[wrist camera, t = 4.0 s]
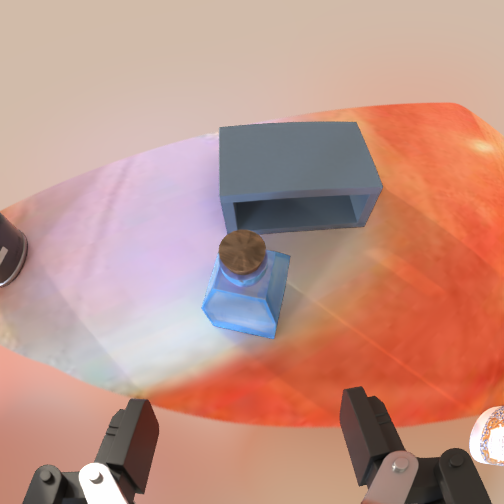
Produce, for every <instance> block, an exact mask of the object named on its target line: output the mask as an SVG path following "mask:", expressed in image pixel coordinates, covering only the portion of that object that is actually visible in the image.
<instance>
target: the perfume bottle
mask: <svg viewBox="0 0 504 504" xmlns="http://www.w3.org/2000/svg"><path fill="white" fill-rule="evenodd" d="M289 261H290V256H289V255H285V254H282V253H279V252H275V251H269V250H266V247H265V243H264V241H263V239H262V238H261V237H260V236H259V235H258V234H256V233H255V232H253V231H250V230H236V231H233V232H231V233H229V234H228V235H226V236H225V238H224V239H223V240H222V241H221V243H220V245H219V252H218V256H217V259H216V262H215V265H214V269H213V272H212V275H211V278H210V282H209V285H208V288H207V292H206V295H205V298H204V302H203V305H202V310H203V311H204V313H205V314H206V315H207V317H208V318H209V320H210V321H211V323H212V324H213V326H217V327H221V328H226V329H230V330H234V331H239V332H243V333H248V334H252V335H257V336H262V337H266V338H271V339H274V337H275V332H276V328H277V323H278V319H279V314H280V309H281V305H282V300H283V295H284V290H285V285H286V280H287V274H288V268H289Z"/></svg>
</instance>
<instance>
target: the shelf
mask: <svg viewBox="0 0 504 504" xmlns="http://www.w3.org/2000/svg"><path fill="white" fill-rule="evenodd" d="M382 188H383V185H382V183H381V180H380V178H379V175H378V172H377V170H376V167H375V165H374V162H373V160H372V157H371V155H370V152H369V150H368V148H367V145H366V143H365V141H364V138H363V136H362V134H361V132H360V129H359V127H358V125H357V123H356V122H287V123H267V124H252V125H239V126H228V127H220V128H219V197H220V202H221V206H222V211H223V216H224V220H225V225H226V229H227V234H229V233H231V232H233V231H236V230H250V231H253V232H255V233H256V234H268V233H281V232H294V231H308V230H322V229H336V228H351V227H364V226H365V224H366V222H367V220H368V218H369V216H370V214H371V212H372V209H373V207H374V205H375V203H376V201H377V199H378V197H379V195H380V193H381V190H382Z"/></svg>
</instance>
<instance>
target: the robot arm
mask: <svg viewBox="0 0 504 504" xmlns="http://www.w3.org/2000/svg"><path fill="white" fill-rule="evenodd" d="M26 253H27V240H26V237H25V235H24V234H23V233H22V232H21V231H20V230H19V229H17V228H16V227H15V226H14V225H12V224H11V223H10V222H9V221H8V220H7V219H6V218H5V217H4V216H3V215H2V214H1V213H0V287H4V286H6V285H8V284H9V283H10V282H12V281H13V280H14V278H15V277H16V276H17V275H18V273H19V271H20V270H21V268H22V266H23V263H24V261H25V258H26ZM340 424H341V428H342V431H343V434H344V438H345V441H346V444H347V448H348V451H349V454H350V458H351V461H352V465H353V468H354V471H355V474H356V478H357V482H358V485H359V486H363V485H367V487H368V492H367V494H366V495H365V497H364V499H363V501H362V502H361V504H492V503H491V500H490V498H489V496H488V494H487V491H486V489H485V487H484V485H483V482H482V480H481V478H480V476H479V474H478V472H477V469H476V468H475V466H474V463H473V461H472V459H471V457H470V456H469V454H468V453H467V452H466V451H464V450H462V449H459V448H453V449H449V450H447V451H445V452H444V453H443V454H442V455H441V457H436V458H418V457H415V456H414V455H413V454H412V453H410V452H407V451H406V450H405V449H404V446H403V444H402V442H401V440H400V437H399V435H398V433H397V431H396V429H395V427H394V424H393V422H391V418H390V416H389V414H388V412H387V410H386V407H385V405H384V403H383V402H382V401H380V400H379V399H378V398H377V397H376V396H372V397H367V395H366V393H365V391H364V389H363V387H362V386H360V387H355V388H349V389H344V390H343V396H342V402H341V409H340ZM158 435H159V424H158V421H157V419H156V416H155V414H154V412H153V409H152V406H151V404H150V402H149V400H145V399H130V400H129V402H128V405H127V407H126V410H123V409H120V410H119V411H118V412H117V413H116V414H115V415H114V416H113V417H112V419H111V422H110V424H109V428H108V429H107V432H106V435H105V436H104V439H103V441H102V444H101V446H100V449H99V451H98V454H97V456H96V459H95V461H94V463H91V464H88V465H86V466H85V467H83V468H82V470H81V471H80V472H60V470H59V469H58V468H57V467H55V466H53V465H43V466H41V467H40V468H38V469H37V470H36V471H35V473H34V476H33V478H32V481H31V483H30V486H29V488H28V491H27V493H26V496H25V498H24V501H23V504H136V503H135V501H134V496H135V493H138V494H144V492H145V488H146V484H147V480H148V476H149V471H150V468H151V463H152V459H153V455H154V452H155V447H156V443H157V439H158Z"/></svg>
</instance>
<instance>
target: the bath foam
mask: <svg viewBox="0 0 504 504" xmlns="http://www.w3.org/2000/svg"><path fill="white" fill-rule="evenodd" d="M469 445H470V446H469V447H470V452H471V455H472V456H473V458H474V459H475V460H476V461H478V462H481V463H487V464H493V465H501V466H504V406H497V407H492V408H489V409H488V410H486V411H485V412H484V413H482V414H481V415H480V417H479V418H478V419H477V421H476V423H475V425H474V426H473V429H472V431H471V435H470V441H469Z"/></svg>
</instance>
